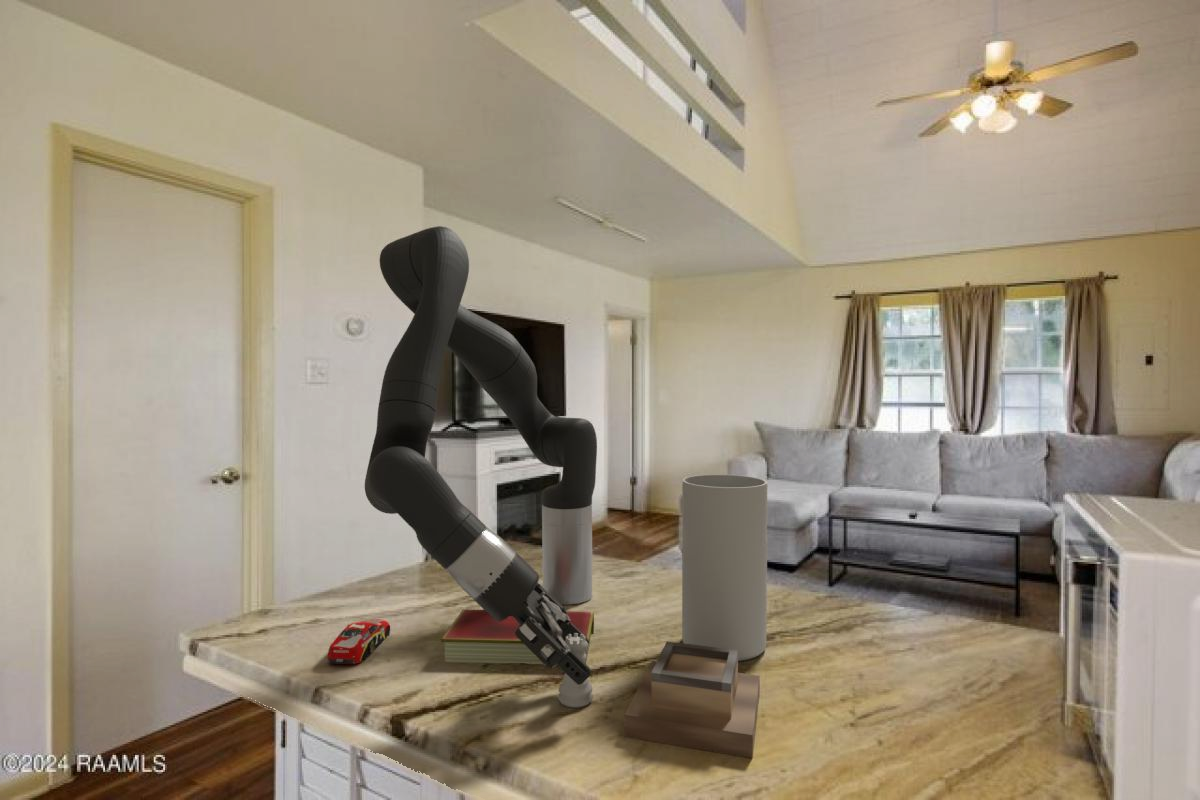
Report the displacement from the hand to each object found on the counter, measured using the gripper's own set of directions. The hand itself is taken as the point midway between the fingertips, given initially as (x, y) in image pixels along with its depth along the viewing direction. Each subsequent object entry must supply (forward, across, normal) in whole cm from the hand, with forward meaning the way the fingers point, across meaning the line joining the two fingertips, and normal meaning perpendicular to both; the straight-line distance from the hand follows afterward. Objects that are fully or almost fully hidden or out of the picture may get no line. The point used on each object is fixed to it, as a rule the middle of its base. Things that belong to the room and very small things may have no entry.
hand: (585, 662), depth 78 cm
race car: (-20, +17, +27) cm, 38 cm away
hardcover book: (-3, +16, +10) cm, 19 cm away
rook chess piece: (+3, 0, +4) cm, 5 cm away
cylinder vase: (+19, +15, -12) cm, 27 cm away
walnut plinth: (+13, -4, -6) cm, 15 cm away
